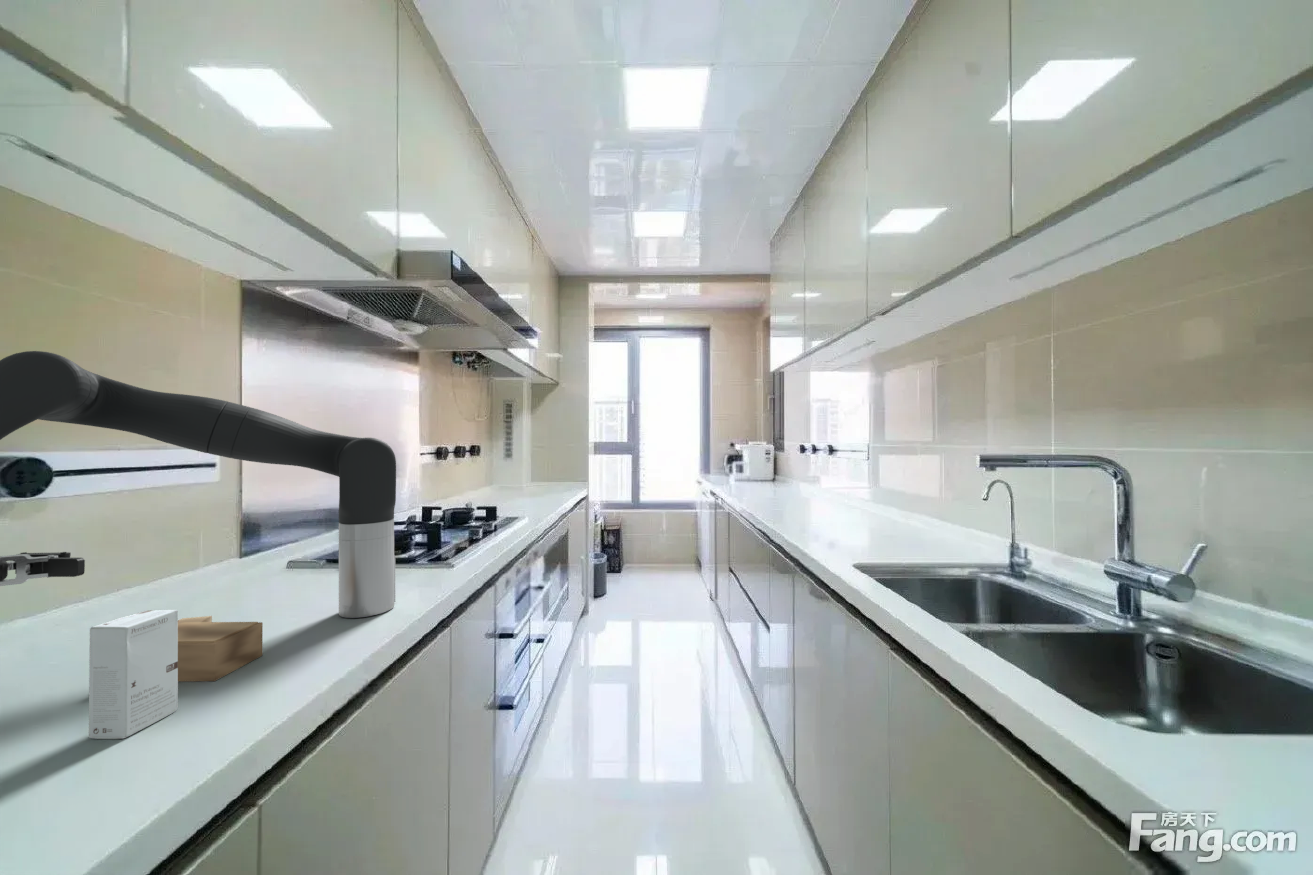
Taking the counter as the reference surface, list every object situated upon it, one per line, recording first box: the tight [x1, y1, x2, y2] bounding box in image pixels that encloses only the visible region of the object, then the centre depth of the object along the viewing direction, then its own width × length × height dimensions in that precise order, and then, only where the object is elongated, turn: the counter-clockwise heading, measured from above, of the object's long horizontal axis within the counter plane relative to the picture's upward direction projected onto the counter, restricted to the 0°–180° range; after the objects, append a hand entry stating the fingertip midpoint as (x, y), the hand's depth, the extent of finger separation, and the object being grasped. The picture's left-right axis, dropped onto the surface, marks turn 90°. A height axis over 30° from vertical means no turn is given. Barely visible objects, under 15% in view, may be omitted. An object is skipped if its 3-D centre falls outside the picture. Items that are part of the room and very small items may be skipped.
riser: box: [178, 621, 263, 683], centre depth 70 cm, size 8×12×5 cm, turn 90°
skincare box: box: [88, 609, 179, 740], centre depth 56 cm, size 6×4×12 cm
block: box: [178, 615, 213, 624], centre depth 78 cm, size 4×4×4 cm
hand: (37, 576), depth 56 cm, fingers open, 8 cm apart
